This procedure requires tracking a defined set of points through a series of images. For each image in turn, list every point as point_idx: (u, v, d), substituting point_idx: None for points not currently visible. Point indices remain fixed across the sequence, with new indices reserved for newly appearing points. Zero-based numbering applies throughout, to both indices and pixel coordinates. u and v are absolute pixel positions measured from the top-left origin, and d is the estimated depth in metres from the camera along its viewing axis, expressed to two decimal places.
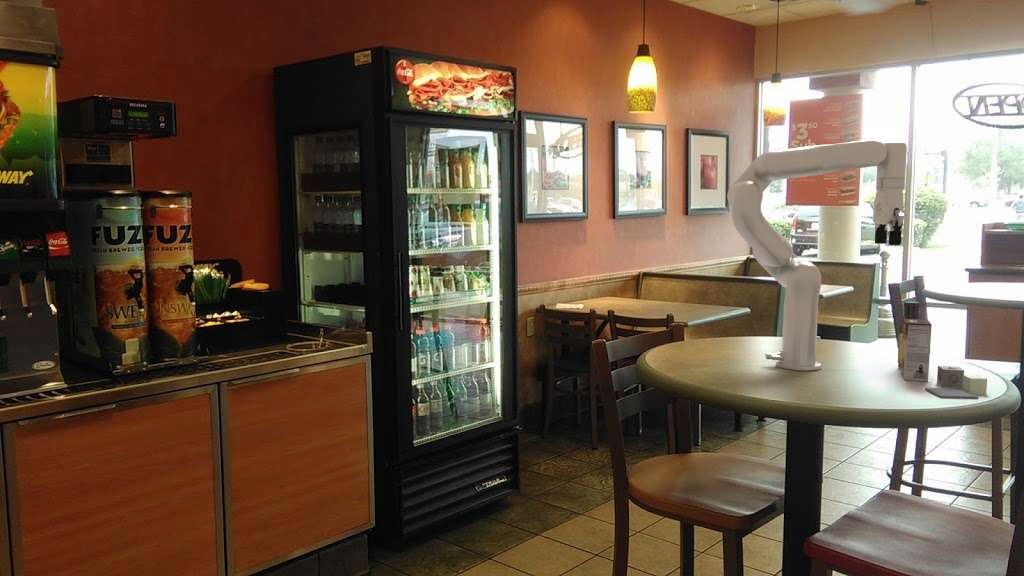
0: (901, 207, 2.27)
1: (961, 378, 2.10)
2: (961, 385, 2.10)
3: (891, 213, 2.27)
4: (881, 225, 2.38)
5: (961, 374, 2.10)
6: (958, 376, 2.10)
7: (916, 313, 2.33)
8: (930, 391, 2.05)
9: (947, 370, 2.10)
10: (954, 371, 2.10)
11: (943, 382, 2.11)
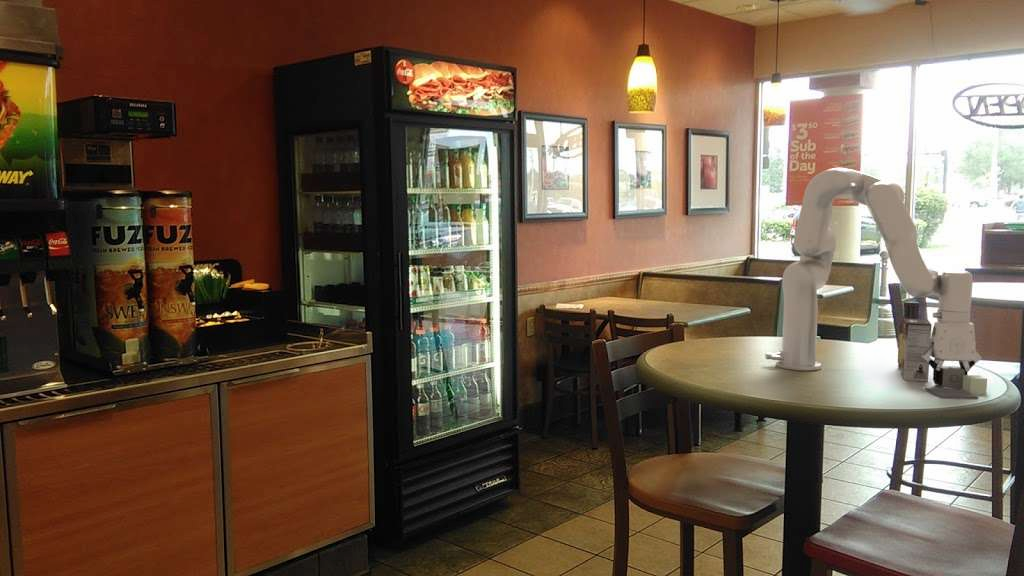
0: None
1: (962, 378, 2.09)
2: (961, 385, 2.10)
3: None
4: None
5: (962, 374, 2.09)
6: (959, 376, 2.10)
7: (916, 313, 2.33)
8: (930, 391, 2.05)
9: (948, 370, 2.10)
10: (955, 371, 2.10)
11: (944, 382, 2.10)
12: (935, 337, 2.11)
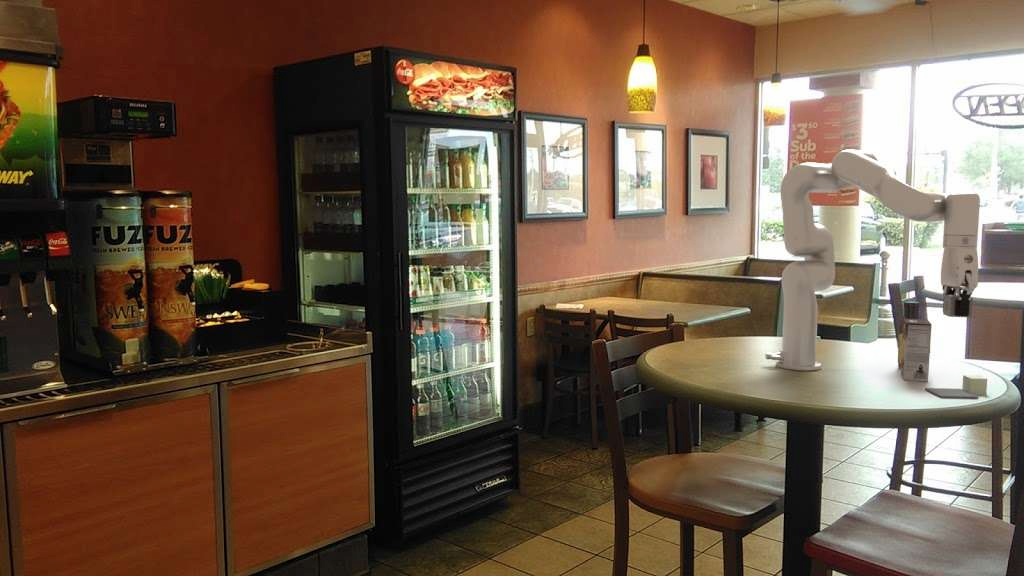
0: None
1: None
2: None
3: None
4: None
5: None
6: None
7: (916, 313, 2.33)
8: (930, 391, 2.05)
9: None
10: None
11: None
12: (973, 264, 1.95)
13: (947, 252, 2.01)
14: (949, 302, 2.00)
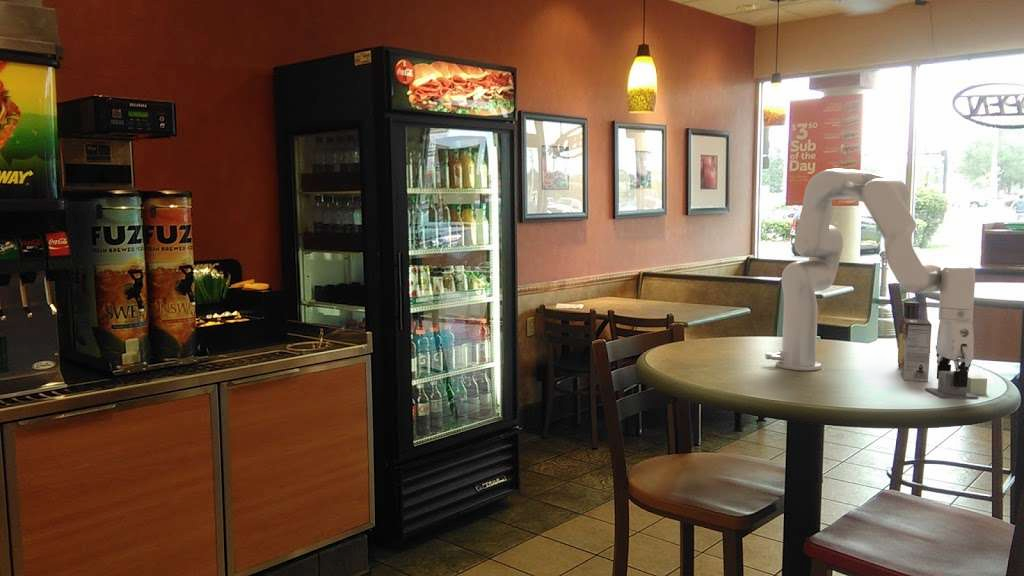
0: None
1: None
2: None
3: None
4: None
5: None
6: None
7: (916, 313, 2.33)
8: (930, 391, 2.05)
9: None
10: None
11: None
12: (969, 338, 1.97)
13: (943, 324, 2.02)
14: (944, 379, 2.02)
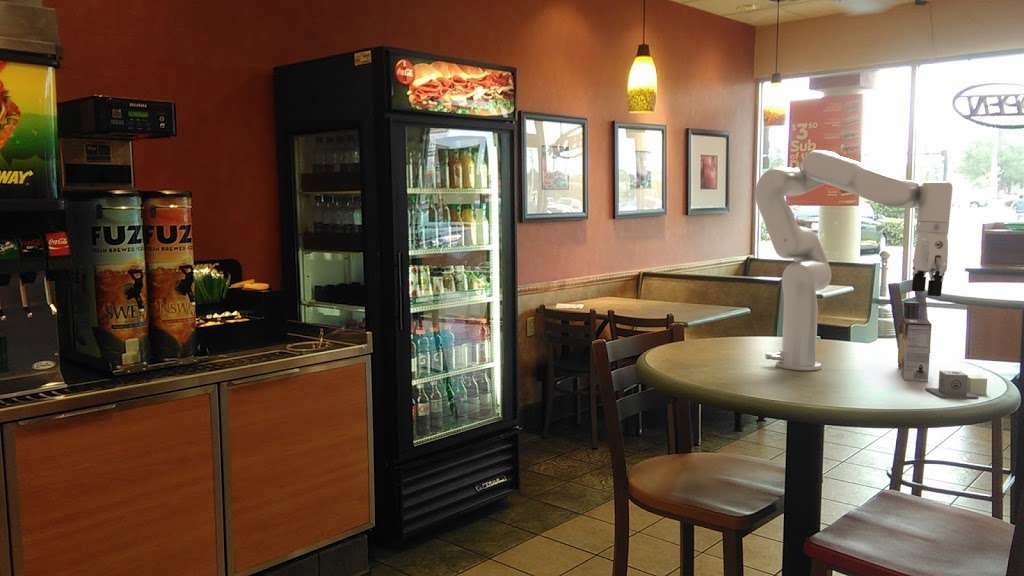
0: None
1: None
2: None
3: None
4: None
5: None
6: None
7: (916, 313, 2.33)
8: (930, 391, 2.05)
9: None
10: None
11: None
12: (943, 250, 2.05)
13: (920, 237, 2.10)
14: (944, 379, 2.02)
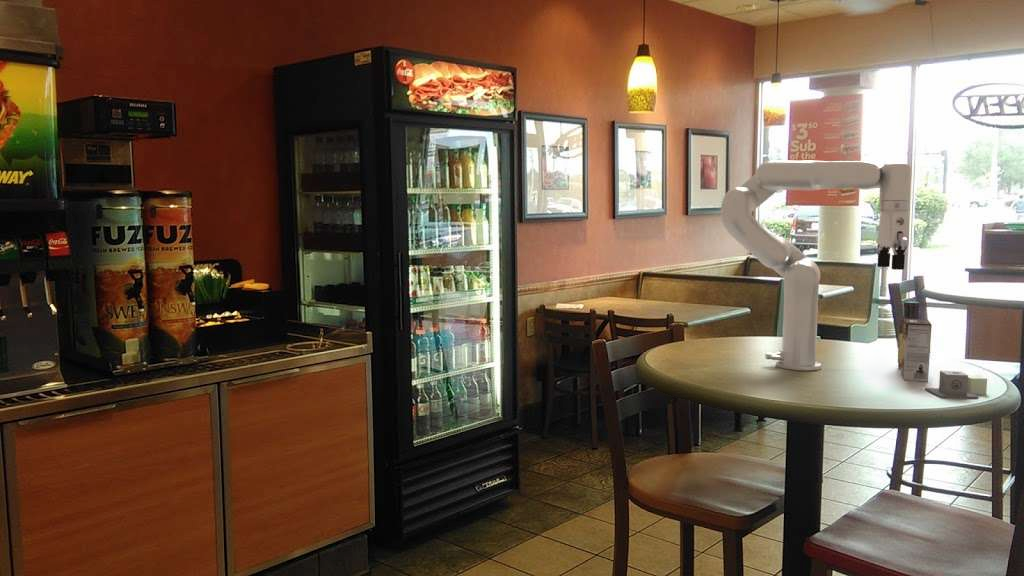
0: None
1: None
2: None
3: None
4: None
5: None
6: None
7: (916, 313, 2.33)
8: (930, 391, 2.05)
9: None
10: None
11: None
12: (904, 226, 2.19)
13: (882, 216, 2.25)
14: (945, 379, 2.02)
